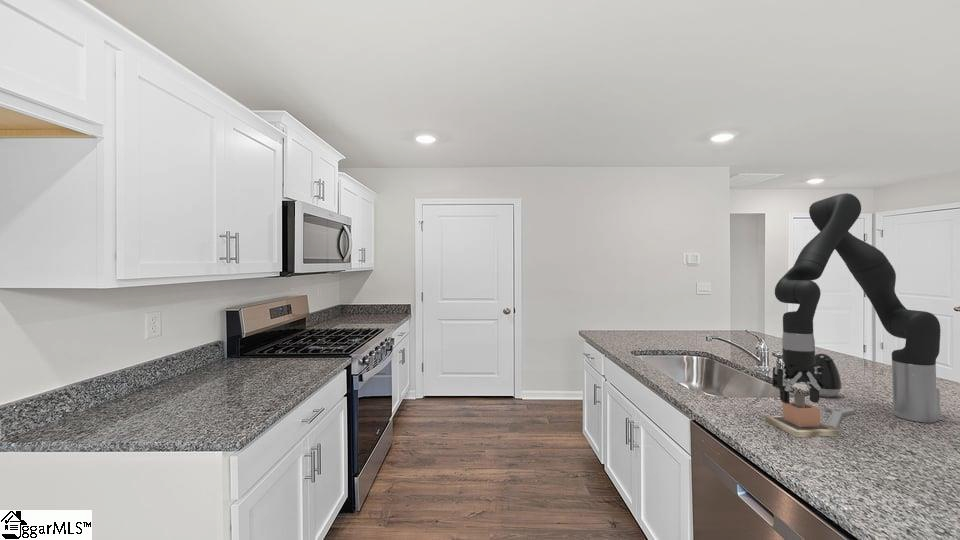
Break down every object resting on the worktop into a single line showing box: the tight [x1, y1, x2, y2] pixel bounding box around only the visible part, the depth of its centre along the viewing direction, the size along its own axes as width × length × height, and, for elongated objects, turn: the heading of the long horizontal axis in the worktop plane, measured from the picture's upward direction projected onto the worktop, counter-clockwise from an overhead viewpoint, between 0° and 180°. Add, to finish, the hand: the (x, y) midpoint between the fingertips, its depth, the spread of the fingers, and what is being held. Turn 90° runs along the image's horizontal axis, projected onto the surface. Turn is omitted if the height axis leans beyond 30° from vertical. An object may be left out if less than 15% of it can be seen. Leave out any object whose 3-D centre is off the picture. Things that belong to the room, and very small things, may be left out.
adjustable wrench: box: [824, 404, 855, 430], centre depth 123 cm, size 25×6×2 cm, turn 127°
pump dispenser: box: [805, 353, 843, 398], centre depth 145 cm, size 10×10×15 cm
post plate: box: [764, 392, 840, 438], centre depth 117 cm, size 12×12×10 cm
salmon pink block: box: [782, 401, 821, 427], centre depth 117 cm, size 6×6×5 cm
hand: (799, 402), depth 117 cm, fingers open, 8 cm apart
